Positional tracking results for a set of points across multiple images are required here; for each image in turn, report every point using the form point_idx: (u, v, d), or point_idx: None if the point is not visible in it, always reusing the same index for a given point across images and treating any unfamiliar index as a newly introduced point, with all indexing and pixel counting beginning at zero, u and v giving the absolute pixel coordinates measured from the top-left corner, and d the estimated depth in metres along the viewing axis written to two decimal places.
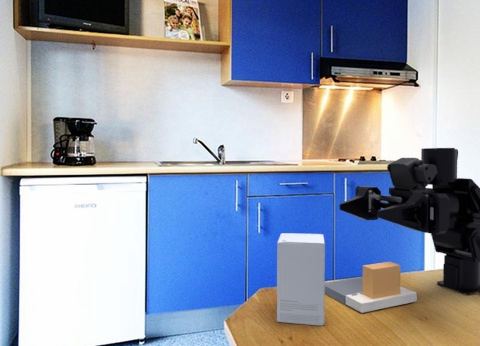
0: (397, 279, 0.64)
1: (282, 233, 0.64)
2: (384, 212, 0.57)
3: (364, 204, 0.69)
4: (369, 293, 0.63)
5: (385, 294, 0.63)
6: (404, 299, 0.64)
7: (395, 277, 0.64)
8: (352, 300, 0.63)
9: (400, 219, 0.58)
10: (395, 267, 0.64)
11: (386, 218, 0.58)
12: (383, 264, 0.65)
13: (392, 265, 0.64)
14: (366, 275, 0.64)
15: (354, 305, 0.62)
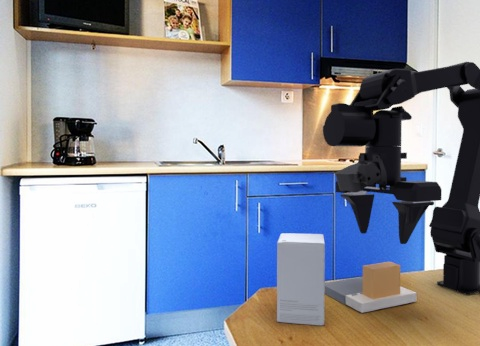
0: (397, 279, 0.64)
1: (282, 233, 0.64)
2: (404, 238, 0.59)
3: (362, 201, 0.69)
4: (369, 293, 0.63)
5: (385, 294, 0.63)
6: (404, 299, 0.64)
7: (395, 277, 0.64)
8: (352, 300, 0.63)
9: (414, 223, 0.59)
10: (395, 267, 0.64)
11: (409, 236, 0.60)
12: (383, 264, 0.65)
13: (392, 265, 0.64)
14: (366, 275, 0.64)
15: (354, 305, 0.62)
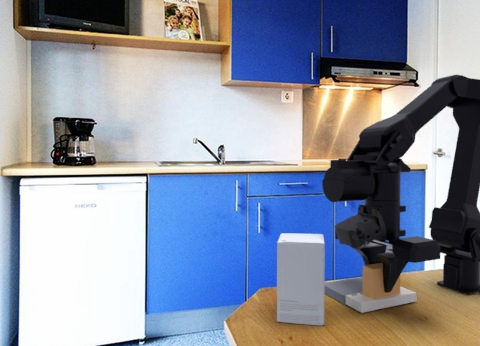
0: None
1: (282, 233, 0.64)
2: (389, 287, 0.63)
3: (373, 253, 0.66)
4: (369, 293, 0.63)
5: (385, 294, 0.63)
6: (404, 299, 0.64)
7: None
8: (352, 300, 0.63)
9: (397, 273, 0.62)
10: None
11: (393, 285, 0.63)
12: None
13: None
14: (366, 275, 0.64)
15: (354, 305, 0.62)
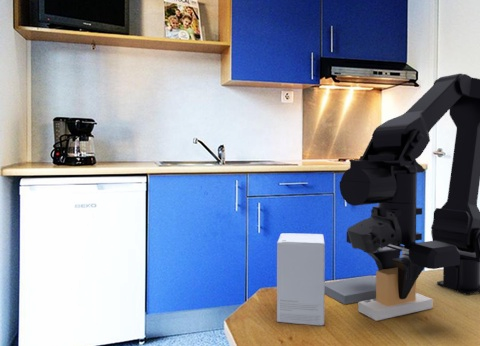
0: None
1: (282, 233, 0.64)
2: (404, 294, 0.60)
3: (387, 258, 0.63)
4: (383, 300, 0.60)
5: (400, 301, 0.60)
6: (420, 306, 0.61)
7: None
8: (365, 307, 0.60)
9: (413, 279, 0.59)
10: None
11: (408, 292, 0.60)
12: (397, 269, 0.62)
13: None
14: (380, 280, 0.61)
15: (368, 312, 0.59)
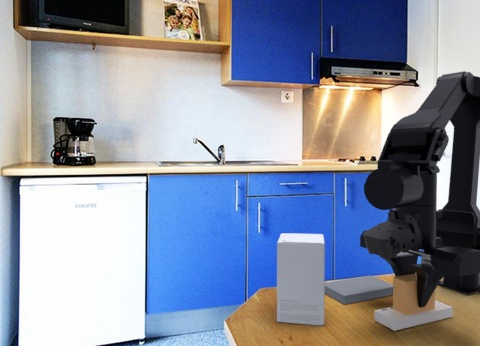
0: None
1: (282, 233, 0.64)
2: (423, 302, 0.56)
3: (405, 263, 0.60)
4: (401, 308, 0.57)
5: (419, 309, 0.57)
6: (439, 314, 0.58)
7: None
8: (382, 316, 0.56)
9: (433, 286, 0.56)
10: None
11: (428, 300, 0.57)
12: (416, 275, 0.59)
13: None
14: (397, 287, 0.57)
15: (385, 322, 0.56)
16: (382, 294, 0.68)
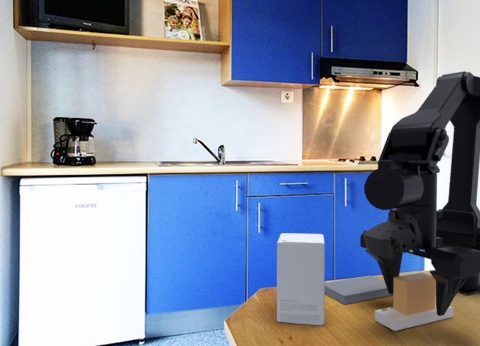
0: (432, 292, 0.58)
1: (282, 233, 0.64)
2: (442, 310, 0.53)
3: (390, 259, 0.63)
4: (401, 308, 0.57)
5: (419, 309, 0.57)
6: None
7: (430, 290, 0.58)
8: (382, 316, 0.56)
9: (453, 293, 0.53)
10: (430, 279, 0.58)
11: (447, 307, 0.54)
12: (416, 276, 0.59)
13: (426, 277, 0.58)
14: (398, 288, 0.57)
15: (385, 322, 0.56)
16: (382, 294, 0.68)
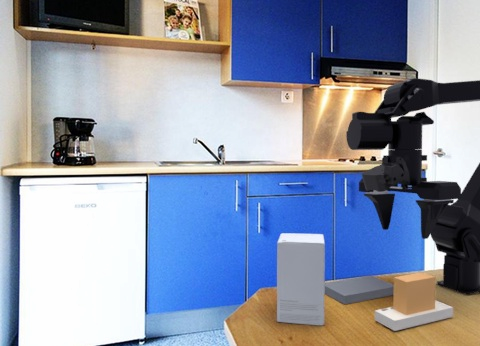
0: (432, 292, 0.58)
1: (282, 233, 0.64)
2: (426, 233, 0.65)
3: (384, 200, 0.74)
4: (401, 308, 0.57)
5: (419, 309, 0.57)
6: (440, 315, 0.58)
7: (430, 290, 0.58)
8: (382, 316, 0.56)
9: (435, 219, 0.65)
10: (430, 279, 0.58)
11: (430, 232, 0.65)
12: (416, 276, 0.59)
13: (426, 277, 0.58)
14: (398, 288, 0.57)
15: (385, 322, 0.56)
16: (382, 294, 0.68)
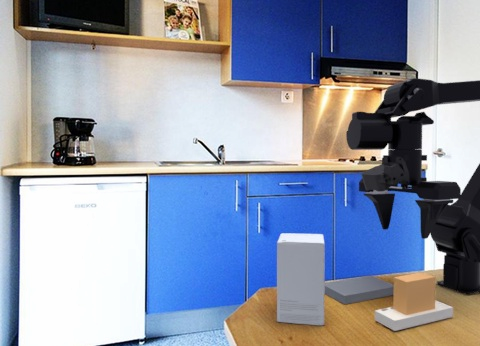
0: (432, 292, 0.58)
1: (282, 233, 0.64)
2: (426, 233, 0.65)
3: (384, 200, 0.74)
4: (401, 308, 0.57)
5: (419, 309, 0.57)
6: (440, 315, 0.58)
7: (430, 290, 0.58)
8: (382, 316, 0.56)
9: (434, 219, 0.65)
10: (430, 279, 0.58)
11: (430, 232, 0.65)
12: (416, 276, 0.59)
13: (426, 277, 0.58)
14: (398, 288, 0.57)
15: (385, 322, 0.56)
16: (382, 294, 0.68)
